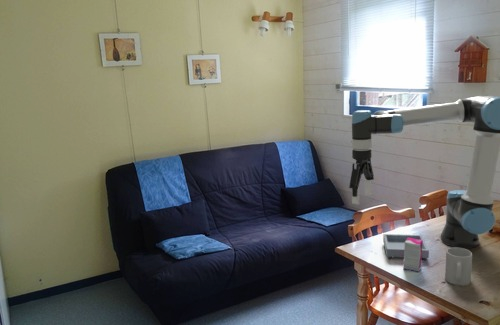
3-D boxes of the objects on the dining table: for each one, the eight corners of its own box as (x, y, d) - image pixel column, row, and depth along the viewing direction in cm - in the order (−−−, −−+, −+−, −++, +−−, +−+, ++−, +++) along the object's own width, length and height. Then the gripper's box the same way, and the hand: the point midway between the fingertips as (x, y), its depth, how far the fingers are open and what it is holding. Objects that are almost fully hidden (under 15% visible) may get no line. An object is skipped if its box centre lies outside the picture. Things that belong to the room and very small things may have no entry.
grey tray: (421, 245, 184) (421, 235, 183) (428, 261, 169) (428, 250, 168) (383, 244, 188) (383, 234, 187) (386, 259, 172) (387, 249, 171)
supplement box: (419, 272, 160) (420, 244, 158) (402, 269, 163) (403, 242, 161) (421, 266, 165) (422, 239, 163) (406, 263, 168) (406, 236, 166)
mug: (444, 272, 159) (446, 246, 157) (470, 276, 156) (471, 248, 153) (444, 288, 149) (446, 259, 146) (471, 292, 145) (473, 262, 143)
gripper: (364, 143, 181) (364, 190, 186) (340, 154, 162) (341, 206, 167) (381, 144, 177) (381, 192, 182) (358, 155, 158) (359, 209, 162)
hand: (362, 199), depth 174 cm, fingers open, 13 cm apart
